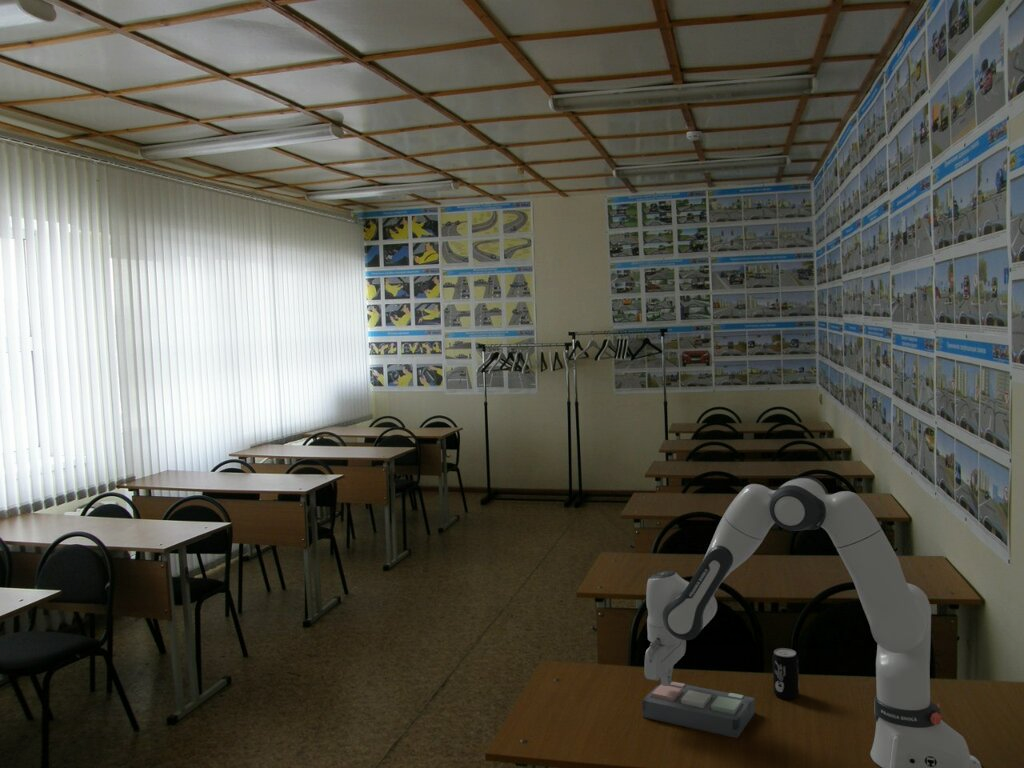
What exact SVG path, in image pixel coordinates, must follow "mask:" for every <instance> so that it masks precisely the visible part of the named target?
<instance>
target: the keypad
mask: <svg viewBox="0 0 1024 768" xmlns="http://www.w3.org/2000/svg"><path fill="white" fill-rule="evenodd" d="M660 685H661V682H659V683H658V684H657V685H656V686H655V687H654V688H653V689H652V690H651V691H650V692H649V693H648V694H647V695H646V696H645V697H644V698H643V699H642V700H641V701H642V702H641V705H642V718H644V719H645V718H646V719H650V720H655V721H660V722H664V723H669V724H673V725H677V726H681V727H686V728H689V729H694V730H695V729H696V730H699V731H704V732H707V733H712V734H718V735H723V736H726V737H731V738H735V739H738V738H739V736H740V735H741V734H742V732H743V731H744V729H745V728H746V727H747V725H748V724H749V722H750V721H751V719H752V718H753V716H754V715H755V714H756V705H755V701H756V700H755V697H751V696H746V695H743V694H739V693H735V692H734V693H733V692H726V691H720V690H715V689H712V688H711V689H709V688H705V687H701V686H694V685H689V684H686V683H684V682H676V681H671V682H670V683H669V684H668V685H667V686H671V687H676V688H681V689H682V695H681V696H680V697H679V698H678V699H677V700H676V701H675V702H671V701H666V700H661V699H656V698H652V693H653V692H654V691H655V690H656V689H657V688H658V687H659V686H660ZM689 690H691V691H696V692H701V693H706V694H711V701H710V702H709V704H708V705H707V706H706V707H705V708H700V707H695V706H690V705H685V704H681V698H682V697H683V696H684V695H685V694H686V693H687V692H688V691H689ZM718 696H721V697H727V698H732V699H737V700H742V707H741V708H740V710H739V711H738V712H737V714H736V715H733V714H728V713H723V712H719V711H714V710H711V705H712V703H713V702H714V701H715V700H716V699H717V697H718Z"/></svg>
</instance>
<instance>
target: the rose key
mask: <svg viewBox="0 0 1024 768" xmlns="http://www.w3.org/2000/svg"><path fill="white" fill-rule="evenodd" d="M681 695H682V689H681V688H676V687H671V686H663V685H660V686H659V687H658V688H657V689H656V690H655V691H654V692H653V693H652V698H656V699H661V700H666V701H671V702H675V701H676V700H677V699H678V698H679V697H680V696H681Z"/></svg>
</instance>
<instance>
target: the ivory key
mask: <svg viewBox="0 0 1024 768" xmlns="http://www.w3.org/2000/svg"><path fill="white" fill-rule="evenodd" d="M710 701H711V694H706V693H701V692H696V691H691V690H689V691H688V692H687V693H686V694H685V695H684V696H683V697H682V698H681V704H685V705H690V706H695V707H700V708H705V707H706V706H707V705H708V704H709V702H710Z"/></svg>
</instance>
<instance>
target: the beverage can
mask: <svg viewBox="0 0 1024 768" xmlns="http://www.w3.org/2000/svg"><path fill="white" fill-rule="evenodd" d="M772 679H773V680H772V683H773V685H772V686H773V693H774V694H775V696H776V697H777V698H779V699H782V700H788V701H789V700H794V699H797V698H798V696H799V695H800V681H799V658H798V656H797V651H795V650H793V649H791V648H785V647H780V648H776V649H774V651H773V654H772Z"/></svg>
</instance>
